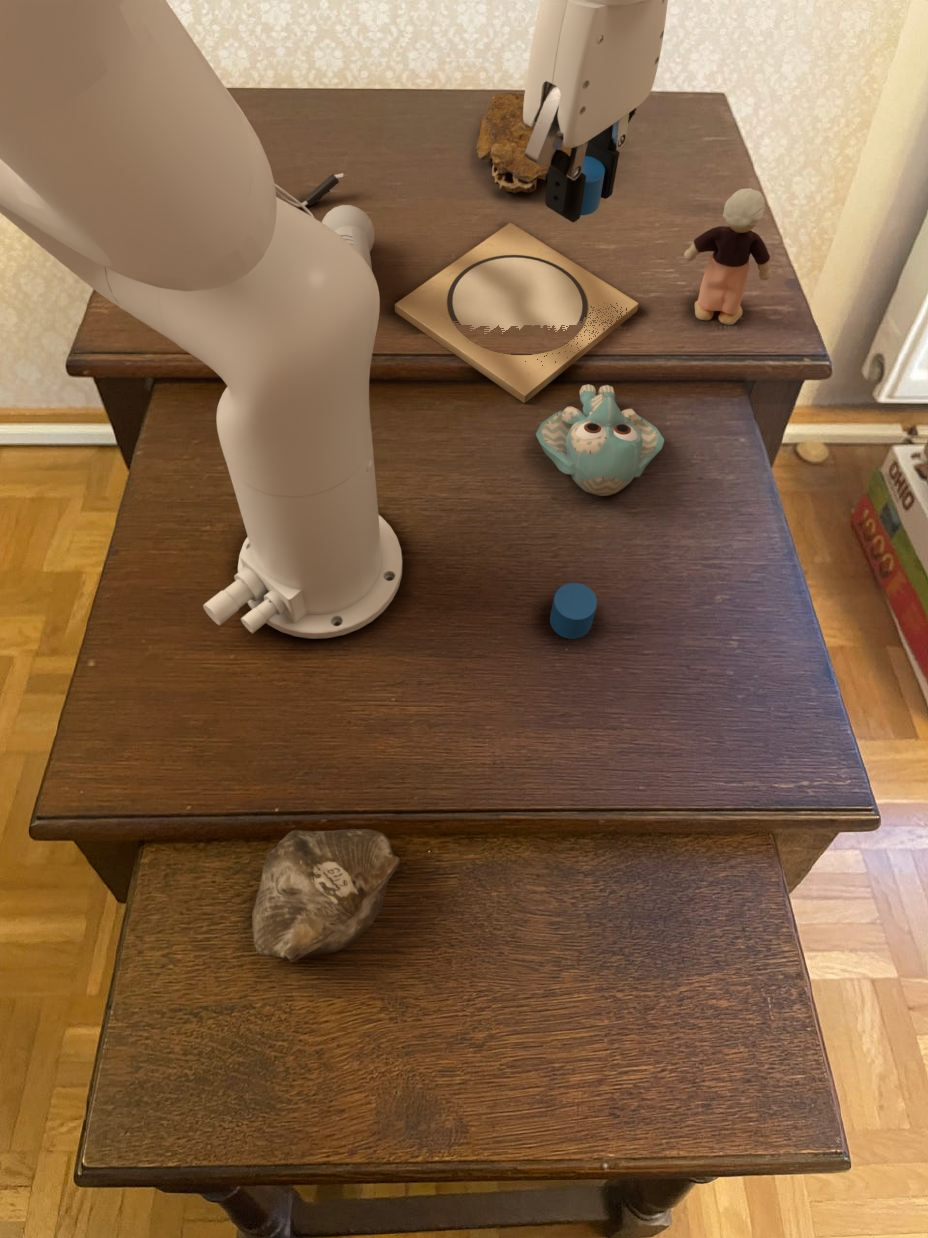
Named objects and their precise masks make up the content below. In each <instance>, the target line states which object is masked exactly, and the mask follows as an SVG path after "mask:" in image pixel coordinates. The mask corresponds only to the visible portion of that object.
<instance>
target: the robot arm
mask: <svg viewBox="0 0 928 1238" xmlns="http://www.w3.org/2000/svg"><path fill="white" fill-rule="evenodd" d="M668 1H669V0H540V3H539V7H538V12H537V16H536V19H535V20H536V21H535V25H534V30H533V35H532V40H531V45H530V46H531V47H530V53H529V59H528V64H527V72H526V79H525V85H524V86H525V87H524V94H523V95H524V105H523V120H524V123H525V124H526V125H528V126H530V127H532V126H534V125H535V127H534V130H533V132H532V135H531V137H530V140H529V143H528V145H527V148H526V150H525V158H527V159H528V160H530V161H532V162H533V163H535V164H537V165H539V166H548V167H549V169H548V174H547V177H546V179H547V180H546V188H545V196H544V204H545V206H546V207H547V208H548V209H550V210H551V211H553V212H555V213H556V214H558V215H560V216H561V217H563V218H564V219H566V220H568V221H569V222H571V223H576V222H578V221H579V220H580V218H581V216H582V215H581V208H582V202H583V195H584V188H585V182H586V175H584V174H583V173H582V172H581V171H582V167H583V163H584V158H585V156H589V157H593V158H595V159H597V160H598V161H600V162H601V163H602V164H603V166H604V168H605V174H604V180H603V186H602V192H601V198H600V199H604V200H606V199H608V198H610V197H611V196H612V195H613V192H614V186H615V181H616V175H617V169H618V165H619V164H618V163H619V158H620V151H619V150H620V149H622V147H624V145H625V143H626V141H627V136H628V129H629V128H628V127H629V123H630V122H631V120H632V118H633V116H635V115H636V111H637V108H638V107H639V106H640V105H642V104H643V102H645V100H646V99H647V98H648V97H649V95H650V94H651V92H652V89H653V87H654V83H655V80H656V75H657V72H658V68H659V64H660V59H661V58H660V57H661V52H662V46H663V40H664V34H665V27H666V19H667V13H668ZM562 141H563V144H564V147H565V148H572V149H571V154H570V156H569V155H568V154H566V153H565V152H564V151H562V150H561V146H562ZM274 183H275V180H274V175H273V172H272V167H271V165H270V162H269V160H268V156H267V154H266V152H265V150H264V147H263V144H262V143H261V140H260V138H259V136H258V135H257V133H256V131H255V130H254V128H253V127H252V125H251V123H250V122H249V120H248V118H247V116H246V114H245V113H244V112H243V110H242V109H241V107H240V106H239V104H238V103H237V102H236V100H235V98H234V97H233V96H232V94H231V93H230V92H229V90H228V89H227V88H226V85H224V83H223V82H222V80H221V78H220V77H219V75H218V74H217V73H216V71H215V70H214V68H213V67H212V66H211V64H210V63H209V61H208V60H207V59H206V56H205V55H204V54H203V52H202V50H201V49H200V48H199V46H198V45H197V44H196V42H195V41H194V39H193V37H192V36H191V35H190V33H189V32H188V30H187V28H186V27H185V25H183V23H182V22H181V20H180V19H179V17H178V16H177V14H176V13H175V11H174V10H173V8H172V7H171V5H170V4H169V2H168V1H167V0H0V214H1V215H2V216H4V218H6V219H7V220H8V221H9V222H11V223H12V224H13V225H14V226H15V227H17V229H19V230H20V231H22V233H24V234H25V235H26V236H28V238H30V239H31V240H32V241H33V242H34V243H36V244H37V245H38V246H40V248H42V249H43V250H44V251H46V252H47V253H48V254H49V255H51V256H52V257H53V258H54V259H56V260H57V261H58V262H59V263H61V264H62V265H63V266H64V267H65V268H66V269H68V270H69V271H70V272H71V273H73V274H74V275H75V276H77V277H78V278H79V279H80V280H82V281H83V282H84V283H85V284H87V285H88V286H89V287H90V288H92V289H93V290H94V291H95V292H97V293H98V294H99V295H101V296H102V297H103V298H105V299H106V300H107V301H109V302H111V303H112V304H113V305H115V306H117V307H118V308H119V309H121V310H123V311H124V312H126V313H127V314H129V315H130V316H132V317H133V318H135V319H137V320H138V321H140V322H141V323H143V324H144V325H146V326H147V327H149V328H151V329H152V330H154V331H156V332H157V333H158V334H160V335H162V336H163V337H165V338H167V340H170V341H171V342H173V343H174V344H176V345H177V346H178V347H179V348H180V349H182V350H183V351H185V352H186V353H188V354H189V355H191V356H192V357H194V358H196V359H197V360H199V361H200V362H202V363H203V364H204V365H206V366H207V367H209V368H210V369H211V370H212V371H213V372H214V373H216V374H217V375H218V376H219V377H220V378H221V380H222V381H223V382H224V384H225V386H226V388H225V389H224V391H223V392H222V394H221V397H220V399H219V400H218V401H219V402H218V405H217V408H216V417H215V421H216V430H217V436H218V439H219V444H220V448H221V451H222V454H223V458H224V460H225V463H226V466H227V469H228V474H229V476H230V480H231V483H232V487H233V490H234V493H235V498H236V501H237V504H238V508H239V511H240V515H241V519H242V521H243V525H244V528H245V532H246V536H247V537H246V538H245V540H244V542H243V543H242V547H241V549H240V552H239V555H238V564H237V573H236V574H234V575H233V578H234V581H233V582H231V584H230V585H228V586H227V587H226V588H224V589H221V590H220V591H219V592H218V593H216V594H215V595H214V596H212V598H210V599H208V600H207V601H206V602H205V603H204V604H203V605H202V607H203V610H204V611H205V613H206V614H207V615H208V617H209V618H210V619H211V620H212V621H213V622H214V623H215V624H216V625H218V626H222V625H223V624H224V623H225V622H226V621H228V620H229V619H230V618H232V616H234V615H236V613H238V612H239V611H240V608H242V607H243V606H244V605H246V604H247V605H248V607H249V608H250V609H251V610H250V611H248V612H247V613H246V614H244V615H243V616H242V617H241V618H240V622H241V623H242V624H243V626H244V627H245V629H247V630H248V631H249V632H250V633H251V634H255V632H257V631H258V630H259V629H260V628H261V627H263V626H264V625H268V626H269V627H272V628H273V629H275V630H277V631H279V632H281V633H283V634H287V635H289V636H293V637H297V638H303V639H313V640H314V639H315V640H317V639H330V638H337V637H340V636H345V635H347V634H350V633H352V632H355V631H358V630H360V629H362V628H364V627H365V626H367V625H368V624H371V623H372V622H373V621H374V620H375V619H377V618H378V617H379V616H380V615H381V614H383V613H384V611H385V610H386V609H387V608H388V607H389V605H390V604H391V603H392V601H393V600H394V599H395V598H394V597H395V596H396V595H397V593H398V590H399V587H400V584H401V581H402V576H403V553H402V548H401V545H400V541H399V539H398V536H397V535H396V533H395V531H394V530H393V528H392V526H391V524H389V523H388V522H387V520H385V519H384V517H383V516H382V515H380V514H379V504H378V493H377V492H378V491H377V481H376V480H377V479H376V468H375V456H374V444H373V432H372V431H373V430H372V424H371V423H372V422H371V410H370V409H371V408H370V374H371V365H372V359H373V351H374V346H375V342H376V336H377V330H378V327H379V320H380V304H381V303H380V301H381V300H380V291H379V286H378V282H377V280H376V277H375V274H374V273H373V270H372V271H371V269H370V267H369V265H368V264H367V262H366V261H365V260H364V258H363V257H362V256H361V255H360V253H359V252H358V251H357V250H356V249H355V248H354V247H353V246H352V245H350V244H349V243H348V242H347V241H346V240H345V239H344V238H343V237H341V236H340V235H339V234H337V233H336V232H335V231H333V230H332V229H330V228H329V227H328V226H326V225H325V224H323V223H322V221H320V220H319V219H317V218H316V217H314V218H313V217H312V216H310V215H309V214H308V213H307V212H306V211H305V212H304V211H303V210H301V209H300V208H299V207H296V206H293V205H291V204H289V203H288V202H286V201H285V200H284V199H282V198H279V197H277V193H276V190H277V189H276V187H275V184H276V183H275V184H274ZM275 189H276V190H275Z"/></svg>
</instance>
